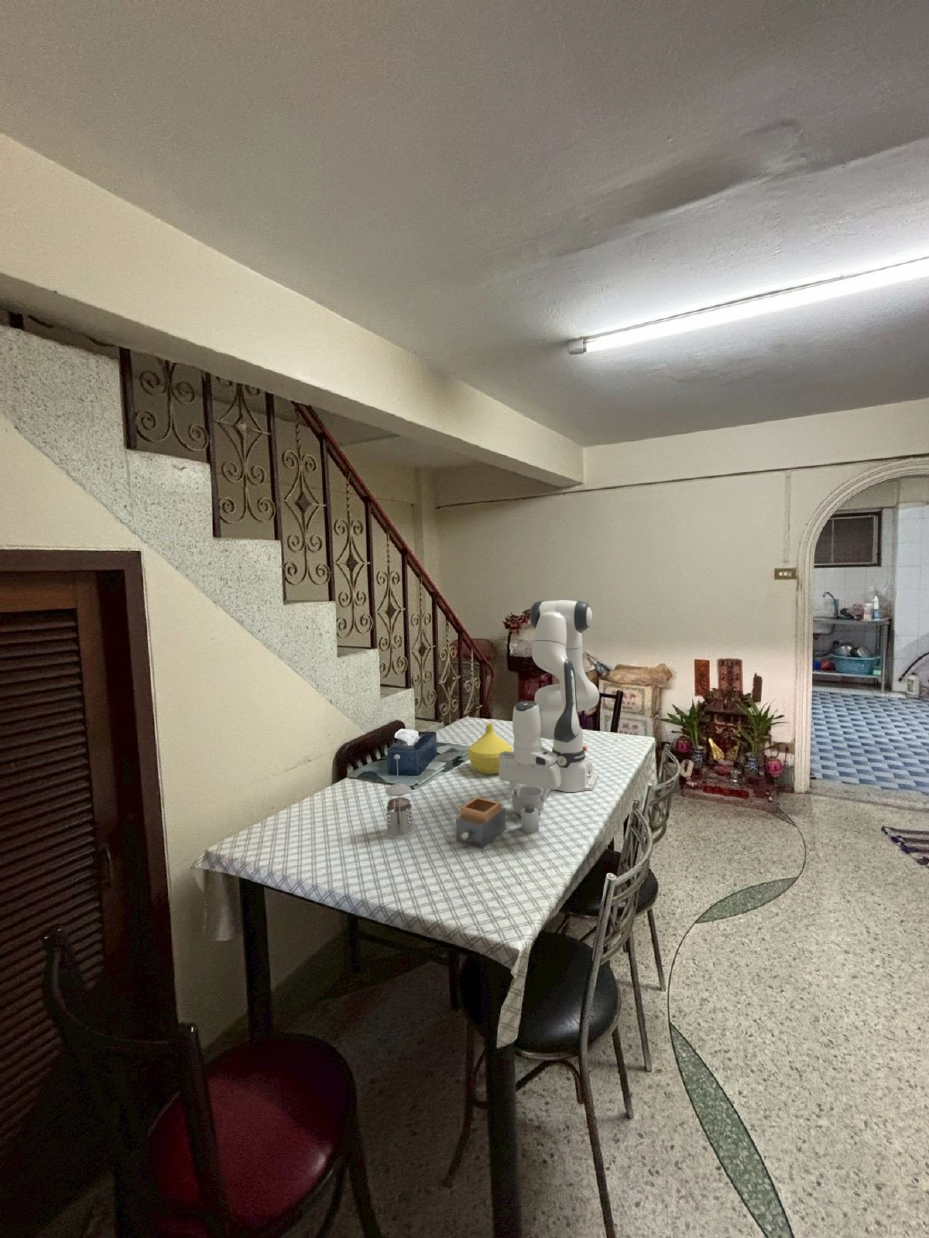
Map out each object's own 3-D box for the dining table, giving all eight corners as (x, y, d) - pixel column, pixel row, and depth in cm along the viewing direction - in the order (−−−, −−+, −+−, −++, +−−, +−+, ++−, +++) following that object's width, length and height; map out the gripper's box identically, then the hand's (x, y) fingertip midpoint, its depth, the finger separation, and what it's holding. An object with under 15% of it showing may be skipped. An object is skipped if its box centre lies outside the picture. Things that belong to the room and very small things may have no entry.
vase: (514, 777, 213) (513, 730, 212) (468, 779, 214) (466, 731, 212) (511, 762, 232) (510, 718, 230) (468, 763, 232) (467, 719, 231)
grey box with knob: (481, 822, 176) (480, 794, 175) (506, 829, 170) (505, 800, 170) (450, 844, 162) (449, 814, 161) (476, 853, 156) (475, 821, 156)
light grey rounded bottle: (526, 823, 174) (525, 801, 173) (541, 827, 171) (541, 804, 170) (518, 830, 169) (517, 807, 169) (533, 835, 166) (533, 811, 166)
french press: (416, 823, 176) (413, 749, 174) (414, 841, 165) (411, 761, 163) (386, 825, 176) (382, 750, 174) (382, 842, 165) (378, 762, 163)
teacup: (518, 822, 175) (517, 798, 174) (507, 809, 185) (506, 786, 185) (558, 816, 179) (557, 792, 178) (544, 803, 189) (544, 781, 188)
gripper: (494, 752, 171) (496, 795, 172) (553, 761, 160) (555, 807, 160) (503, 747, 176) (505, 789, 177) (562, 755, 165) (563, 800, 166)
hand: (529, 798), depth 169 cm, fingers open, 8 cm apart
